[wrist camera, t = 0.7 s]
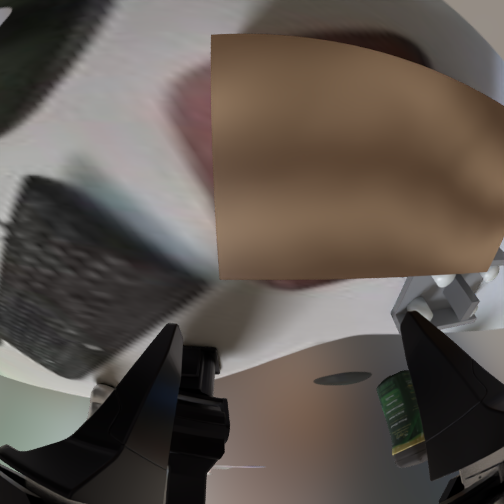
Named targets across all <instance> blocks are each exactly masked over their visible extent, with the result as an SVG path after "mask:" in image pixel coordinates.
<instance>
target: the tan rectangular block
mask: <svg viewBox="0 0 504 504" xmlns="http://www.w3.org/2000/svg"><path fill="white" fill-rule="evenodd" d="M211 119H212V153H213V178H214V199H215V217H216V234H217V249H218V263H219V276H220V280H309V279H357V278H387V277H412V276H432V275H450V274H466V273H480V272H487V271H488V269H489V267H490V265H491V263H492V261H493V259H494V257H495V255H496V253H497V251H498V249H499V246H500V244H501V242H502V240H503V237H504V106H503V105H501V104H500V103H498V102H497V101H495V100H493V99H491V98H490V97H488V96H486V95H484V94H483V93H481V92H479V91H477V90H475V89H473V88H471V87H470V86H468V85H466V84H464V83H462V82H459V81H457V80H455V79H453V78H451V77H449V76H446V75H444V74H442V73H439V72H437V71H435V70H432V69H430V68H427V67H425V66H422V65H419V64H416V63H414V62H411V61H408V60H405V59H402V58H399V57H396V56H392V55H389V54H386V53H382V52H378V51H375V50H371V49H367V48H363V47H358V46H354V45H349V44H344V43H339V42H333V41H328V40H321V39H314V38H306V37H297V36H286V35H271V34H217V35H211Z"/></svg>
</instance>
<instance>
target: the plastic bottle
mask: <svg viewBox="0 0 504 504" xmlns="http://www.w3.org/2000/svg"><path fill="white" fill-rule="evenodd" d="M113 390H114V388H112V387H110V386H107V385H104V384H98V385H96V386H95V387H94V388H93V390H92V392H91V397H90V407H89V412H88V418H87V420H88V419H89V418H90V417H91V416H92V415H93V414H94V413H95V411H96V410H97V409H98V408H99V407H100V406H101V405H102V404H103V403H104V401H105V400H106V399H107V398H108V397H109V395H110V394H111V393H112V392H113Z"/></svg>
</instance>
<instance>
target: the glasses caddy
mask: <svg viewBox="0 0 504 504" xmlns="http://www.w3.org/2000/svg"><path fill="white" fill-rule="evenodd" d="M501 265H504V252H503V251H502V250H501V249H500V248H499V249H498V251H497V253H496V255H495V257H494V259H493V261H492V263H491V265H490V267H489V269H488V271H487V272H480V273H466V274H450V275H432V276H412V277H407V279H406V281H405V284H404V286H403V288H402V290H401V292H400V295H399V297H398V299H397V301H396V303H395V305H394V307H393V309H392V311H391V315H392V318H393V320H394V322H395V324H396V327H397V329H398V331H399V334H400V336H401V331H400V325H401V322H402V320H403V318H404V316H405V314H406V313H407V312H408V311H413V310H416V311H418V312H419V313H420V314H421V315H423V316H424V317H425V318H426V319H427V320H429V321H430V322H431V323H432V324H433V325H435V326H436V327H437V328H438V329H439V330H441V329H446V328H450V327H455V326H460V325H464V324H469V323H473V322H475V320H476V319H477V318H476V316H475V315H474V313H475V312H476V310H477V308H478V306H477V305H478V303H479V302H480V301H479V299H478V298H477V297H476V295H475V292H476V291H477V289H478V287H479V285H480V284H481V282H482V280H483V278H484V280H485V281H486V282H487V283H489V282H491V281H493V280H494V279H495V278H496V276H497V275H498V273H499V266H501Z"/></svg>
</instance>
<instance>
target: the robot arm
mask: <svg viewBox="0 0 504 504" xmlns="http://www.w3.org/2000/svg"><path fill="white" fill-rule="evenodd" d="M400 331H401V336H402V341H403V346H404V350H405V356H406V361H407V365H408V369H409V372H410V376H411V380H412V383H413V387H414V391H415V395H416V400H417V404H418V408H419V413H420V418H421V423H422V428H423V433H424V439H425V445H426V451H427V458H428V465H429V473H430V480H431V481H433V480H436V479H439V478H441V477H444V476H446V475H449V474H451V473H454V472H456V471H458V470H459V472H460V475H458V476H456V477H454V478H453V479H451V480H450V481H449V483H448V485H447V487H446V489H445V491H444V493H443V494H442V496H441V498H440V500H439V504H504V384H503V383H501V382H500V381H499V380H497V379H496V378H495V377H494V376H492V375H491V374H490V373H489V372H487V371H486V370H485V369H484V368H482V367H481V366H480V365H479V364H478V363H477V362H476V361H475V360H474V359H472V358H471V357H470V356H469V355H468V354H467V353H466V352H465V351H464V350H462V349H461V348H460V347H459V346H458V345H457V344H456V343H454V342H453V341H452V340H451V339H450V338H449V337H448V336H446V335H445V334H444V333H443V332H442V331H441V330H439V329H438V328H437V327H436V326H435V325H433V324H432V323H431V322H430V321H429V320H427V319H426V318H425V317H424V316H423V315H421V314H420V313H419V312H418V311H416V310H413V311H408V312H407V313H406V314H405V316H404V318H403V320H402V322H401V325H400ZM215 374H220V367H219V360H218V354H217V349H216V348H212V347H190V346H183V337H182V334H181V331H180V328H179V325H178V324H173V323H168V324H166V325H165V327H164V328H163V329H162V330H161V332H160V333H159V334H158V335H157V337H156V338H155V339H154V340H153V341H152V343H151V344H150V345H149V346H148V348H147V349H146V350H145V351H144V353H143V354H142V355H141V356H140V358H139V359H138V360H137V361H136V363H135V364H134V365H133V366H132V368H131V369H130V370H129V371H128V373H127V374H126V375H125V376H124V378H123V379H122V380H121V382H120V383H119V384H118V385H117V387H116V389H114V390H113V392H112V393H111V394H110V395H109V397H108V398H107V399H106V400H105V401H104V403H103V404H102V405H101V406H100V407H99V408H98V409H97V410H96V411H95V413H94V414H93V415H92V416H91V417H90V418H89V419H88V420H87V421H86V422H85V423H84V424H83V425H82V426H81V427H80V428H79V429H78V430H77V431H76V432H75V433H74V434H72V435H71V436H70V437H68V438H67V439H65V440H62V441H60V442H57V443H53V444H50V445H47V446H43V447H40V448H37V449H33V450H29V451H18V450H16V449H15V448H13V447H11V446H9V445H7V444H6V445H4V446H1V447H0V459H1V460H2V461H3V462H5V463H6V464H8V465H9V466H10V467H12V468H13V469H15V470H16V471H18V472H20V473H21V474H20V473H18V472H16V471H13V470H12V469H9V468H7V467H5V466H4V465H1V464H0V504H205V498H206V497H205V496H206V477H207V473H208V472H209V470H210V469H211V468H212V467H213V465H214V464H215V463H216V462H217V460H219V459H220V458H221V457H222V456H223V454H224V452H225V451H224V450H225V449H224V444H225V443H226V442H227V440H228V436H229V431H230V421H229V411H228V402H227V399H226V398H216V397H213V391H214V378H215ZM22 474H23V475H22Z"/></svg>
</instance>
